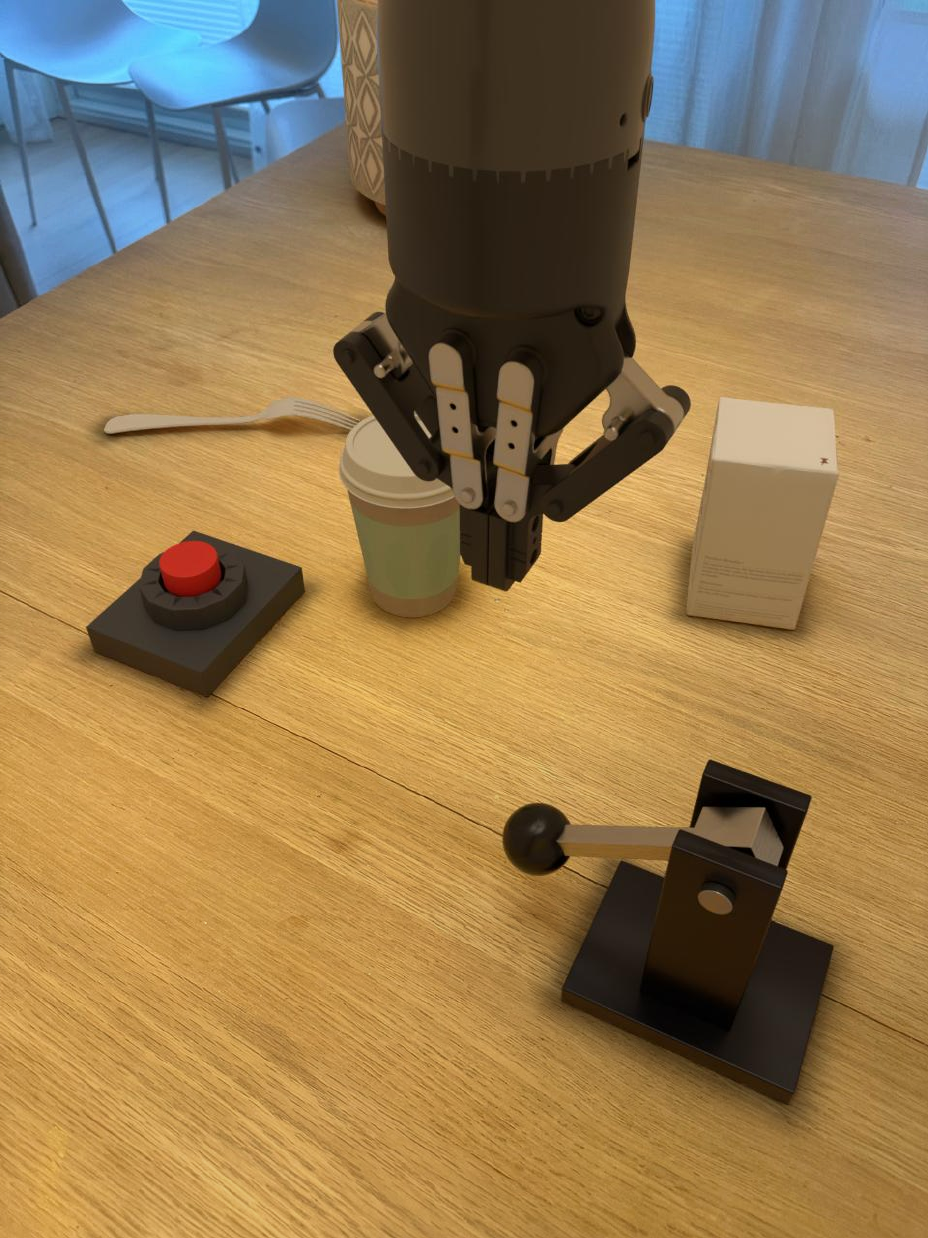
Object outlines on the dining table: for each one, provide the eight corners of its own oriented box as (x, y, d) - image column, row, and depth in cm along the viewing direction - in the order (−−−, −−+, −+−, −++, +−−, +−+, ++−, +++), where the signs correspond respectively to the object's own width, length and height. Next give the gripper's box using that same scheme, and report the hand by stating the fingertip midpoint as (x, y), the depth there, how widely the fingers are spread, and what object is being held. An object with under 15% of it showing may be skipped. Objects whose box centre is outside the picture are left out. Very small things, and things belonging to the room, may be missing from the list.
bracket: (559, 1000, 50) (579, 843, 42) (618, 872, 55) (646, 708, 47) (789, 1106, 47) (862, 957, 38) (829, 957, 52) (902, 797, 43)
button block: (207, 697, 65) (196, 651, 62) (93, 651, 68) (78, 605, 65) (305, 591, 72) (299, 545, 69) (198, 554, 75) (188, 509, 72)
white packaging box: (796, 562, 74) (839, 406, 65) (795, 634, 69) (842, 474, 60) (690, 547, 75) (718, 392, 67) (681, 616, 70) (711, 457, 61)
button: (198, 604, 66) (193, 583, 64) (152, 587, 67) (146, 566, 66) (232, 571, 68) (228, 550, 67) (187, 555, 69) (183, 534, 68)
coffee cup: (500, 602, 71) (504, 452, 63) (389, 649, 68) (378, 498, 60) (434, 535, 76) (431, 389, 68) (329, 576, 73) (312, 428, 65)
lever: (509, 889, 50) (478, 839, 49) (538, 836, 53) (509, 787, 51) (770, 908, 42) (742, 849, 41) (791, 845, 44) (765, 787, 43)
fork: (119, 442, 89) (108, 414, 88) (360, 417, 88) (354, 388, 86) (111, 461, 87) (99, 433, 85) (358, 436, 86) (352, 406, 84)
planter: (531, 258, 110) (541, 20, 95) (314, 224, 117) (291, -4, 102) (597, 174, 128) (614, -39, 113) (404, 148, 134) (396, -56, 119)
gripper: (243, 115, 30) (307, 579, 42) (694, 198, 25) (622, 692, 37) (379, 47, 35) (402, 480, 46) (778, 107, 30) (690, 569, 42)
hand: (500, 574), depth 42 cm, fingers closed
